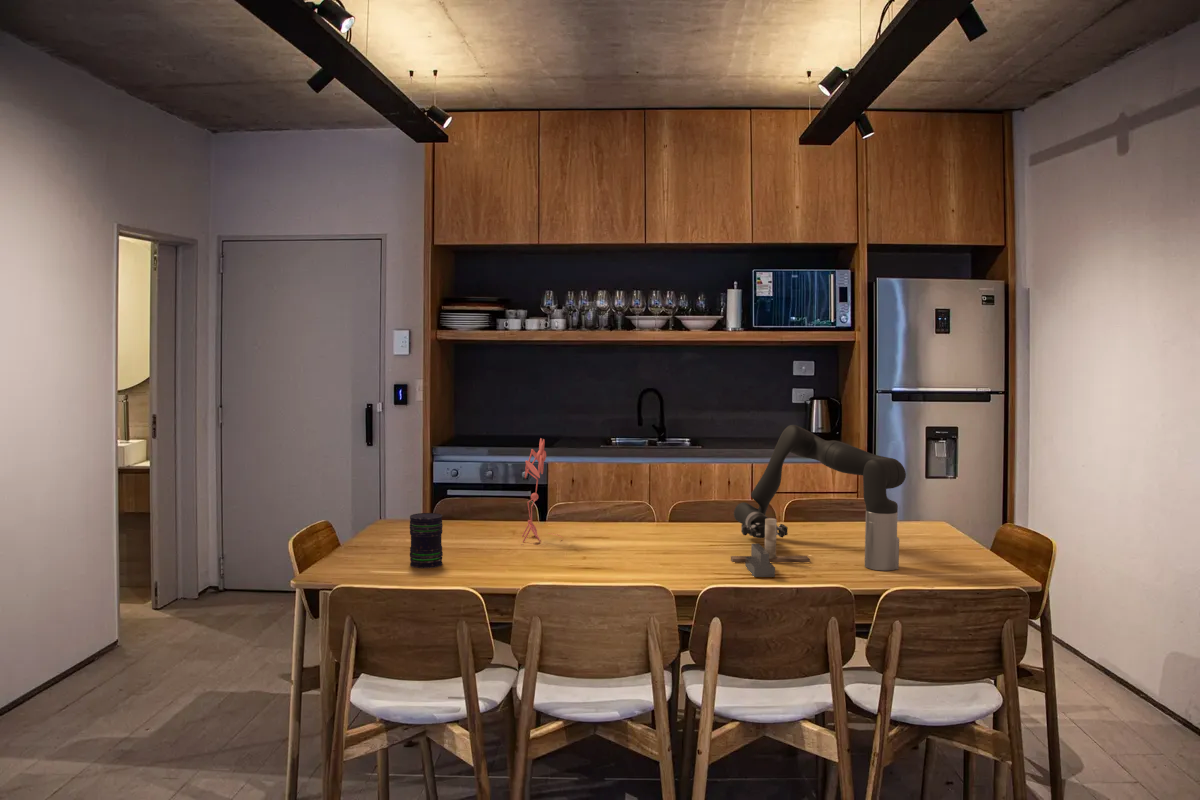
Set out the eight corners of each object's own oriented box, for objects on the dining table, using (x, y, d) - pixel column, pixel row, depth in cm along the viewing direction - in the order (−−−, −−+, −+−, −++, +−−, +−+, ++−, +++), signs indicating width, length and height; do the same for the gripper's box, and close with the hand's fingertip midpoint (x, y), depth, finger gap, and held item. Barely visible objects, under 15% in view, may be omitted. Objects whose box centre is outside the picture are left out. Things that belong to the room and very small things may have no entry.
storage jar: (414, 560, 285) (413, 512, 284) (445, 560, 285) (445, 513, 284) (406, 568, 275) (406, 518, 274) (438, 568, 275) (438, 519, 274)
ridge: (764, 566, 281) (765, 543, 280) (774, 577, 267) (775, 553, 266) (745, 566, 281) (745, 543, 280) (754, 577, 267) (754, 553, 266)
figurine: (520, 547, 304) (523, 441, 303) (519, 532, 330) (521, 434, 328) (567, 547, 306) (570, 442, 304) (561, 532, 332) (564, 435, 330)
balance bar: (806, 560, 290) (807, 518, 289) (809, 563, 286) (810, 520, 285) (730, 560, 289) (731, 518, 288) (732, 563, 285) (733, 520, 284)
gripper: (737, 513, 306) (746, 522, 289) (779, 513, 306) (791, 522, 290) (736, 535, 306) (746, 546, 290) (779, 535, 306) (791, 546, 290)
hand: (768, 534), depth 290 cm, fingers open, 8 cm apart
